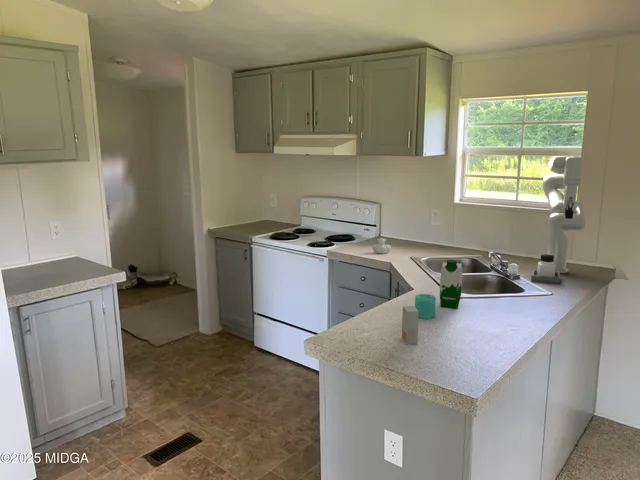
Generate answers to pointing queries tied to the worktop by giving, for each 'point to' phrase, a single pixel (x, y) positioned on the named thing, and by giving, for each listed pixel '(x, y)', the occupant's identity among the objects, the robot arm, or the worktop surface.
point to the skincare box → (410, 325)
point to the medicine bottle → (546, 266)
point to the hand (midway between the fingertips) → (568, 217)
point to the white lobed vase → (381, 247)
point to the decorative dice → (425, 306)
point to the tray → (545, 278)
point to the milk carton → (450, 284)
